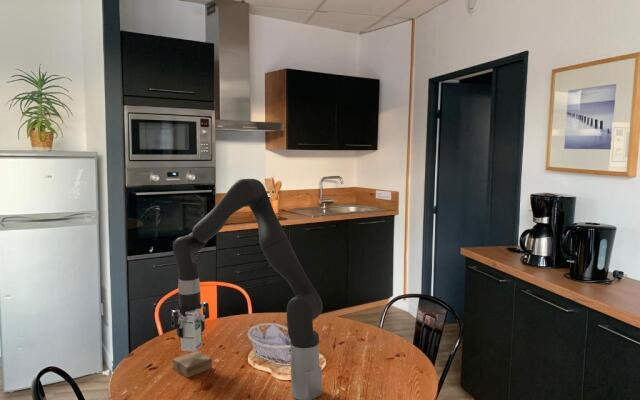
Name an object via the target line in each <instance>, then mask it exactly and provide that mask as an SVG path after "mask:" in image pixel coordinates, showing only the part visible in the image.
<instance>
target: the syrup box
mask: <svg viewBox="0 0 640 400" xmlns="http://www.w3.org/2000/svg"><path fill="white" fill-rule="evenodd" d="M201 309H202V308H201ZM201 309H198V310H199V312H200V313H201V314H202V312H201V311H202V310H201ZM198 310H191V311H190V312H186V313H185V315H186V314H187V313H188V315H187V321H186V323H184V325H183V327H182V328H183V338H180V347H181V349H180V350H181V351H183V352H196V351H199V349H200V348H201V347H202V346H203V345H204V343H203V332H202V325H201V319H200V317H199V312H198ZM178 319H184V316H183V315H182V314H181V313H179V316H178ZM180 323H181V321H180Z"/></svg>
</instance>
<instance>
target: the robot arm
mask: <svg viewBox="0 0 640 400" xmlns="http://www.w3.org/2000/svg"><path fill="white" fill-rule="evenodd" d="M244 207H245V208H247V207H249V208H250V210H251V213H252V214H253V215H254V218H255V220H256V223H257V229H258V241H259V246H260V248H261V251H262V254H263V255H264V256H265V259H266V261H267V262H268V264H269V266H270V267H271V268H272V269H273V270H274V271H275V272H276V273H278V274H279V275H280V276H281V277H282V278H283V279H284V280H285V281H286V282H287V283H288V285H289V287H290V288H291V290H292V292H293V295H294V297H292V298H291V299H290V300H289V301H288V302H287V306H286V323H287V324H286V326H287V327H286V328H287V333H288V337H289V340H290V388H291V390H290V391H291V393H290V395H291V396H292V397H293V399H296V400H315V399H316V398H318V397H320V396H322V395H323V393H322V392H323V389H322V388H323V386H322V385H323V383H322V382H323V377H322V375H323V374H322V369H323V368H322V366H321V365H320V335H319V333H318V332H317V331H315V330H314V325H313V323H314V320H316V319H317V318H318V317H319V316H321V314H322V312H323V309H324V308H323V307H324V305H323V301H322V299H321V296H320V295H319V293H318V291H317V290H316V288H315V287H314V285H313V283H312V282H311V281H310V279H309V278H308V275H307V274H306V271H305V270H304V268H303V266H302V264H301V262H300V260H299V259H298V257H297V254H296V252H295V250H294V248H293V246H292V244H291V242H290V240H289V238H288V236H287V234H286V233H285V231H284V228H283V226H282V225H281V222H280V221H279V219H278V216H277V215H276V212H275V210H274V208H273V206H272V203H271V200H270V197H269V194H268V192H267V189H266V188H265V186H264V184H263V183H262V182H261V181H260V179H259V180H258V179H255V178H241V179H238V180H237V181H235V182H234V183H233V184H232V185H231V186H230V187H229V189H227V191H226V193H225V194H224V195H223V196H222V198H221V199H220V200H219V202H217V203H216V205H215V206H214V207H213V209H211V210H210V211H209V212H208V213H207V214H206V215H205V216H204V217H202V218H201V219H200V220H199V221H198V222H197V223H196V224H195V225H194V226H193V228H192V231H191V232H190V233H189V234H186V235H184V236H180V237H178V238H176V239H175V240H174V242H173V246H172V254H173V256H174V260H175V262H176V265H177V268H178V269H177V271H178V284H177V286H178V288H177V291H178V304H179V308H178V309H176V310H175V309H174V310H173V309H171V310H170V323H171V324H170V326H171V327H172V328H174V329H176V335H177V336H176V337H178V338H179V339H181V338H183V328H182V327H183V325H184V323H186V321H187V315H188V313H187V314H186V315H185V313H186V312H190V311H191V310H198V309H202V312H201V313H200V312H199V310H198V312H199V317H200V319H201V325H202V333H203V332H204V330H205V328H206V326H205V321H206V320H207V319H210V307H209V303H208V302H207V301H202V302H201V300H202V299H201V281H200V273H199V272H200V271H199V264H198V262H197V261H194V260H192V255H194V254H196V253H199V251H201V250H202V249H203V248H204V247H205V245H206V244H207V243H208V242H209V240H211V239H212V238H213V237H214V236H215V235H216V234H218V233H219V232H220V231H221V229H222V228H224V226H225V224H226V222H227V221H228V219H229V218H230V217H231V216H232V215H233V214H235V213H236V212H238V211H240V210H241V209H243V208H244ZM179 313H181V314H182V315H183V316H184V319H179ZM180 321H181V323H180Z"/></svg>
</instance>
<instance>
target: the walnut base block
mask: <svg viewBox="0 0 640 400" xmlns="http://www.w3.org/2000/svg"><path fill="white" fill-rule="evenodd" d="M212 359H213V358H212V357H210V356H208V355H206V354H204V353H202V352H201V351H199V350H197V351H196V352H193V351H190V352H188V353H186V354H182V355H181V356H177V357H174V358H172V369H173V370H175V371H176V372H178V373H179V374H181V375H182V376H184V377H185V378H190V377H193V376H195V375H198V374H200V373H203V372H205V371H207V370H210V369H212V368H213V365H212V363H213V362H212V361H213V360H212Z"/></svg>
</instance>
